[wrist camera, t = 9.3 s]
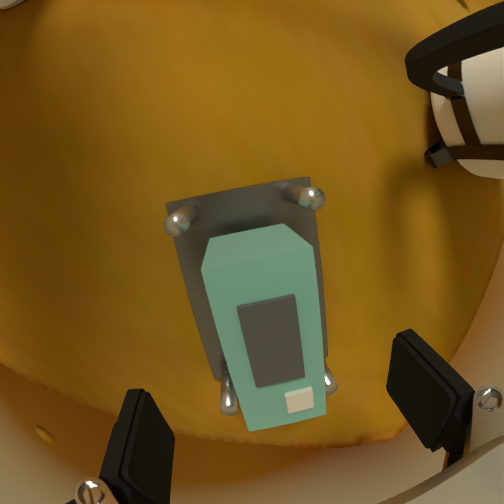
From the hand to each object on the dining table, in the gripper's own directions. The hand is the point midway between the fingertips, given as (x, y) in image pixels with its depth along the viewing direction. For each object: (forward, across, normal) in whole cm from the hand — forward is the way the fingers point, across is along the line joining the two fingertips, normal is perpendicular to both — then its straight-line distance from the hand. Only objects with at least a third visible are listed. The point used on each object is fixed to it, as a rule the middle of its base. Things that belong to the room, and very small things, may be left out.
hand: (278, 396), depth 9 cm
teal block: (+9, 0, +1) cm, 9 cm away
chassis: (+12, 0, +1) cm, 12 cm away
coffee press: (+13, -22, -11) cm, 27 cm away
